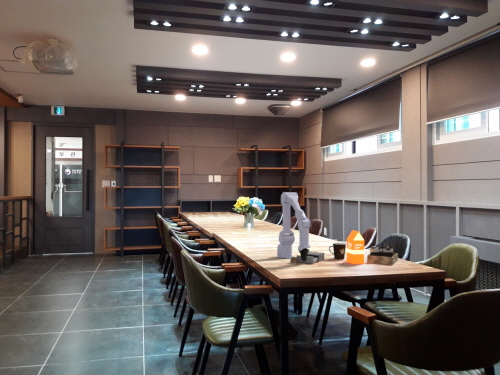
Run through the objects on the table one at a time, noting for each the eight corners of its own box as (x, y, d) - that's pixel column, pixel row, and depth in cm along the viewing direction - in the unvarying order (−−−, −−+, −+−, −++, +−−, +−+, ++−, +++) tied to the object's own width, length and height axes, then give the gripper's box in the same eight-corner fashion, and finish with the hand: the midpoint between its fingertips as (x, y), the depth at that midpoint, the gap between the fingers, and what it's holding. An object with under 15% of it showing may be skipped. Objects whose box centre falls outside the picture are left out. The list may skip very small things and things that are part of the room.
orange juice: (352, 263, 234) (353, 231, 234) (346, 261, 242) (346, 230, 243) (364, 263, 235) (364, 231, 236) (357, 261, 244) (357, 230, 244)
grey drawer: (296, 261, 238) (296, 255, 238) (302, 259, 246) (302, 253, 246) (313, 263, 232) (313, 257, 232) (319, 261, 241) (319, 254, 241)
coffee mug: (344, 257, 256) (345, 243, 256) (346, 260, 247) (347, 244, 247) (327, 257, 257) (327, 242, 257) (328, 259, 248) (328, 244, 248)
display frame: (367, 262, 240) (367, 255, 240) (374, 258, 256) (374, 251, 256) (392, 265, 232) (392, 257, 232) (397, 260, 248) (397, 253, 248)
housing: (301, 259, 246) (301, 253, 246) (307, 257, 254) (307, 251, 254) (319, 261, 240) (319, 254, 240) (324, 259, 248) (324, 252, 248)
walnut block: (290, 262, 235) (290, 257, 235) (292, 262, 237) (292, 256, 238) (295, 263, 233) (295, 257, 233) (297, 262, 236) (297, 257, 236)
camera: (388, 262, 248) (387, 247, 250) (395, 262, 237) (394, 246, 240) (366, 262, 247) (365, 246, 250) (372, 262, 237) (371, 246, 239)
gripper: (305, 240, 226) (305, 263, 225) (314, 238, 238) (314, 259, 238) (294, 239, 229) (294, 262, 229) (304, 237, 242) (303, 258, 242)
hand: (303, 260), depth 234 cm, fingers closed
